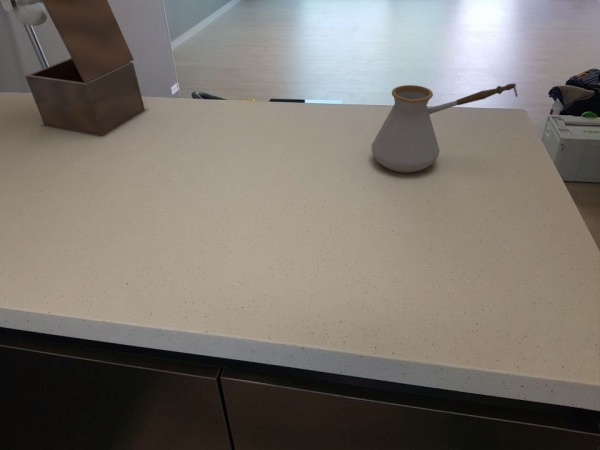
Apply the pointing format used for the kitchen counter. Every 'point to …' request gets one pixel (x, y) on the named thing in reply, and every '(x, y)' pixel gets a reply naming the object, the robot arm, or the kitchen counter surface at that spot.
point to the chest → (86, 98)
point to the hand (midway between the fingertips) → (26, 6)
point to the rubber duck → (30, 12)
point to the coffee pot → (415, 128)
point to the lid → (90, 35)
